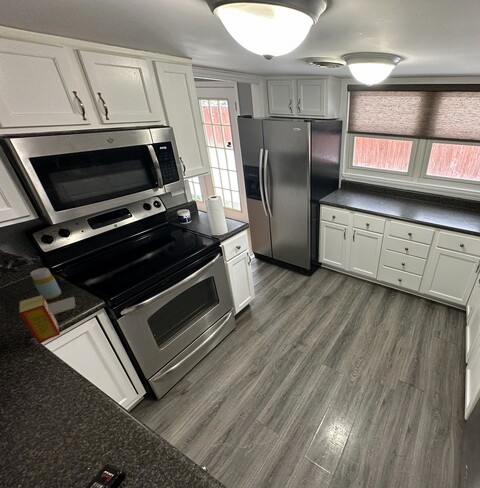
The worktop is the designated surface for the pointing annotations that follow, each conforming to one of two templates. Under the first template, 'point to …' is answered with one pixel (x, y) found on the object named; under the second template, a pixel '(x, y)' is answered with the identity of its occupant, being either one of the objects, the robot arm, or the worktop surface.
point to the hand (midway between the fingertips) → (27, 267)
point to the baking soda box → (39, 318)
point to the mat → (62, 305)
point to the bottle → (46, 283)
